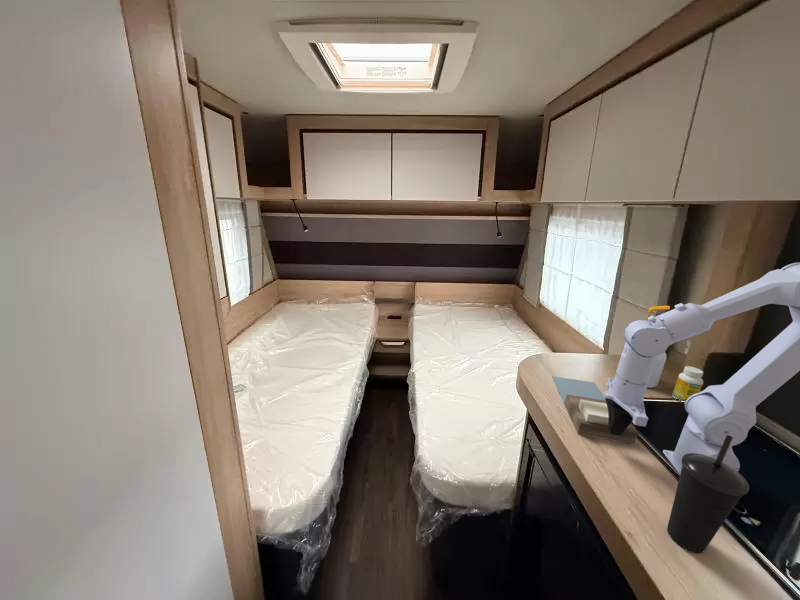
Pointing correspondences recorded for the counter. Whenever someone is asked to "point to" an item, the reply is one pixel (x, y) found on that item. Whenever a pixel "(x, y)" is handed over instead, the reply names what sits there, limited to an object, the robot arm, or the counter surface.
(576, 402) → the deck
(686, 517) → the drinking cup
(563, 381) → the mat
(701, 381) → the supplement bottle
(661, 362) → the soap bottle
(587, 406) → the tile
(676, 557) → the counter surface
